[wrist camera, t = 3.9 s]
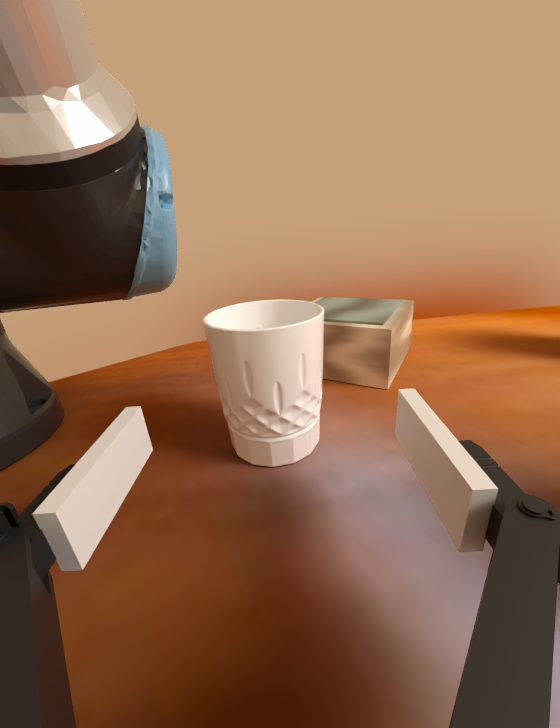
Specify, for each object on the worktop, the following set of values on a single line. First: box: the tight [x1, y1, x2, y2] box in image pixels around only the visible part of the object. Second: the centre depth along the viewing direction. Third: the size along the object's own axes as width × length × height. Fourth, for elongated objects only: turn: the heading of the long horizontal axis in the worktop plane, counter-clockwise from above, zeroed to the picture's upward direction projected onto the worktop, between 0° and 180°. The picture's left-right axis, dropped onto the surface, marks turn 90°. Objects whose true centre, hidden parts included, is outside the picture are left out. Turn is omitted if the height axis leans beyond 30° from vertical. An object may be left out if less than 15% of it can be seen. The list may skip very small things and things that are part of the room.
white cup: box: [203, 300, 324, 467], centre depth 23 cm, size 8×8×10 cm
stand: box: [312, 297, 414, 390], centre depth 37 cm, size 12×12×6 cm
